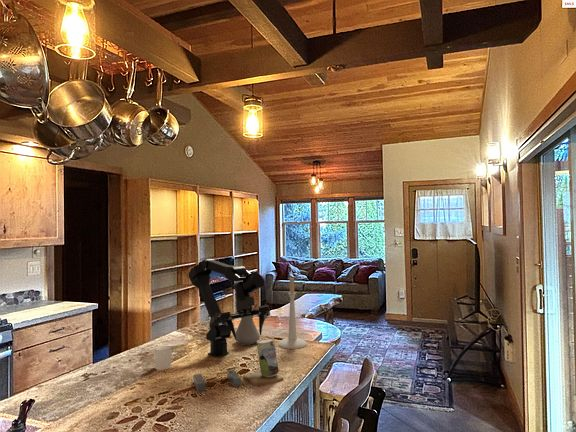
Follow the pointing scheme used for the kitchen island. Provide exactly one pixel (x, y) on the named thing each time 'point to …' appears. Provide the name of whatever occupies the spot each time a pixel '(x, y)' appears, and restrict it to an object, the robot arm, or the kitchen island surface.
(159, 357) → the shot glass
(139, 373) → the kitchen island surface
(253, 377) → the walnut board
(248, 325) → the coffee pot
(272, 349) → the beverage can
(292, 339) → the candlestick
